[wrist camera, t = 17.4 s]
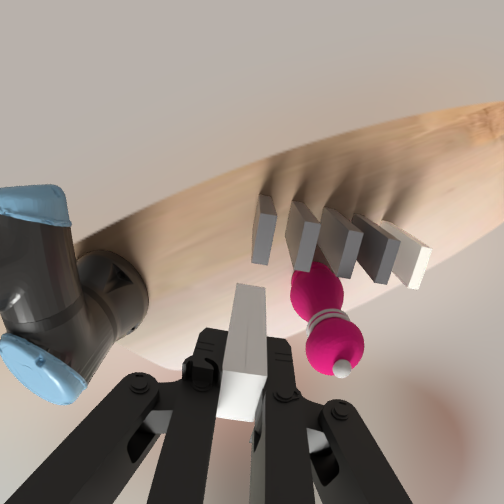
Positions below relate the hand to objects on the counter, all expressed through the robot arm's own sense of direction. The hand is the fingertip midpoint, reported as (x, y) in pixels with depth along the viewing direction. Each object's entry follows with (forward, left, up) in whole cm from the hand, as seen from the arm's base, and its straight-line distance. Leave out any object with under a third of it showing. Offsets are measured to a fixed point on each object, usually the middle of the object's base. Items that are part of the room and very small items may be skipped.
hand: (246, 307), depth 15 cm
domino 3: (+10, -1, -25) cm, 27 cm away
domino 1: (+1, 0, -25) cm, 25 cm away
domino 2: (+5, -1, -25) cm, 25 cm away
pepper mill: (+9, -10, -25) cm, 28 cm away
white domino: (+19, -3, -25) cm, 31 cm away
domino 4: (+14, -2, -25) cm, 29 cm away
